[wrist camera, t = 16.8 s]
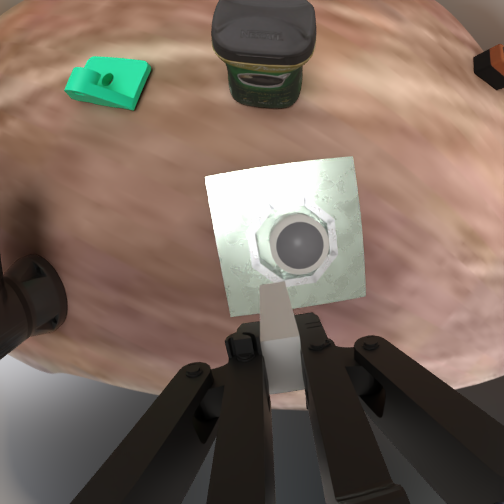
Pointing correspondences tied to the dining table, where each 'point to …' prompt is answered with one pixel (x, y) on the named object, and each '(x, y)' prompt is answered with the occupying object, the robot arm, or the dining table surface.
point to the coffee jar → (264, 48)
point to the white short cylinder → (298, 243)
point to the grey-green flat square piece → (265, 215)
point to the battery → (491, 66)
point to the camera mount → (100, 75)
